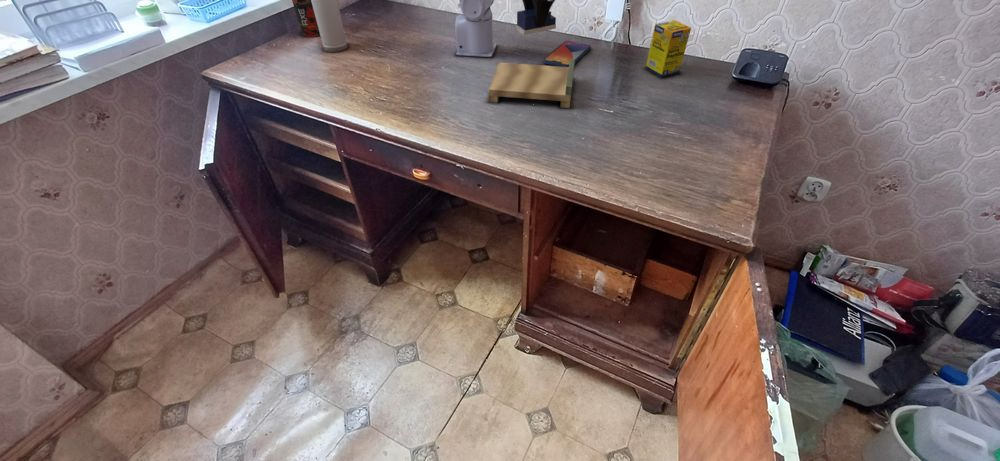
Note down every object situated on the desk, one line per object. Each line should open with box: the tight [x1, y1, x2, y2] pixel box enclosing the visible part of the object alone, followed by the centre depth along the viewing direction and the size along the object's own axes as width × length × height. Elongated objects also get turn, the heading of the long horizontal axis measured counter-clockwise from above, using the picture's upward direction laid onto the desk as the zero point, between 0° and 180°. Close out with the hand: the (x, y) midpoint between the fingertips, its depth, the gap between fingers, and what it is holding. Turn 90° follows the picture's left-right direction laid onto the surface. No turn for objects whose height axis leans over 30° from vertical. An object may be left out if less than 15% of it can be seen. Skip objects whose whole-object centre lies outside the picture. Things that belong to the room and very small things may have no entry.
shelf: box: [488, 59, 576, 109], centre depth 106 cm, size 18×14×5 cm
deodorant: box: [291, 0, 320, 38], centre depth 129 cm, size 6×6×15 cm
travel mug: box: [311, 0, 349, 53], centre depth 119 cm, size 6×7×20 cm
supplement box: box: [645, 19, 692, 78], centre depth 111 cm, size 6×6×11 cm
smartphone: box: [543, 40, 591, 67], centre depth 121 cm, size 7×15×1 cm, turn 151°
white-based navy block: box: [514, 9, 557, 36], centre depth 115 cm, size 9×4×4 cm, turn 116°
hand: (535, 23), depth 116 cm, fingers closed on white-based navy block, 4 cm apart
